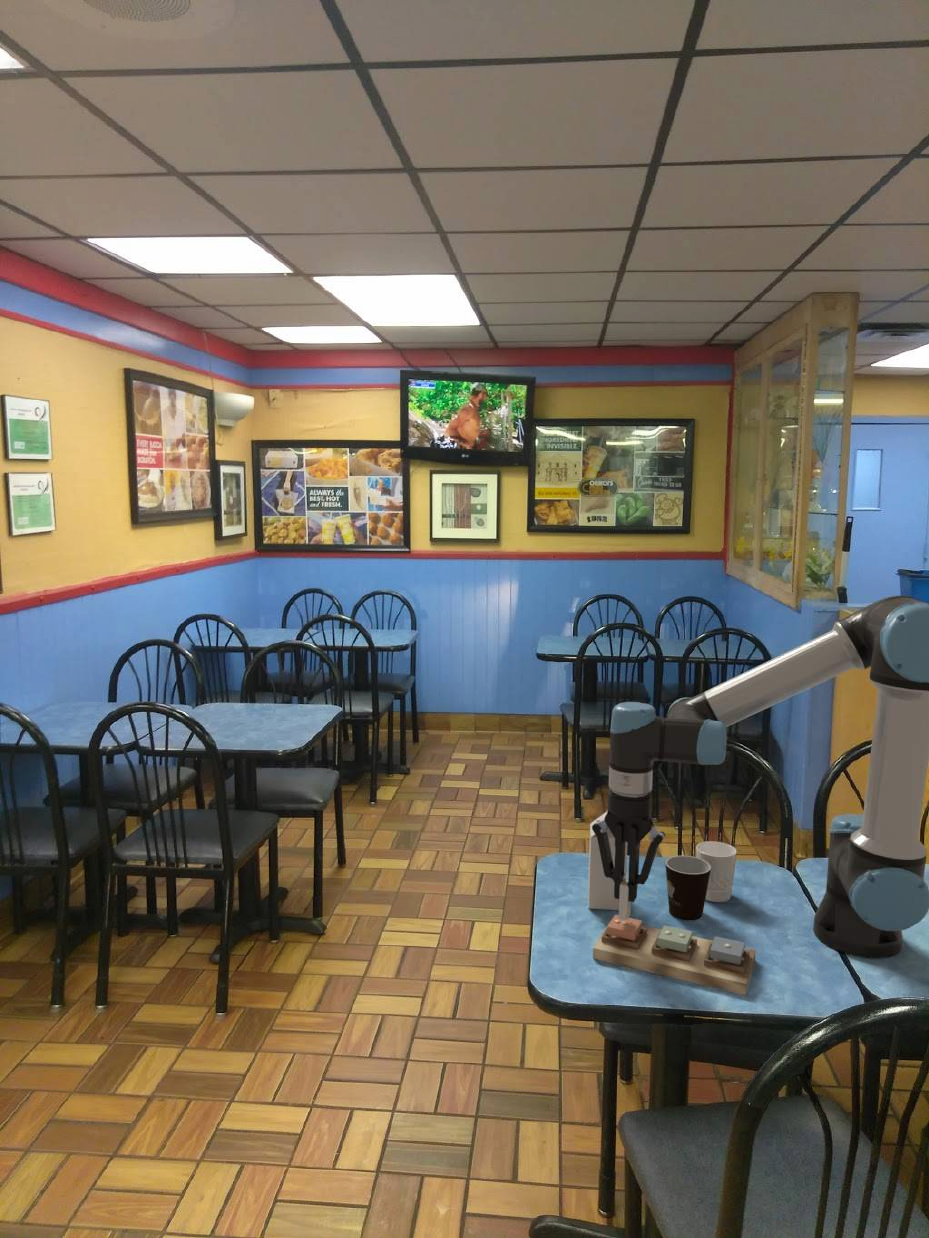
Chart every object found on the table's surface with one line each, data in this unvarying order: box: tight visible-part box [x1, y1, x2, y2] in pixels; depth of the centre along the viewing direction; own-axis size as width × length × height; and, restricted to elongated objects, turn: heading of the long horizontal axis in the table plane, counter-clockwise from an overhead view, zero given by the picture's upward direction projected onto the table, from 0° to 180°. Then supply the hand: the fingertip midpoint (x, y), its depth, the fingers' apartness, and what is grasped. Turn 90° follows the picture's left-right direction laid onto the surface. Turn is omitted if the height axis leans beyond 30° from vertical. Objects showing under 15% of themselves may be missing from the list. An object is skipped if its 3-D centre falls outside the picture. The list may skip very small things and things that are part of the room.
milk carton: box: [587, 810, 629, 911], centre depth 176 cm, size 7×7×19 cm
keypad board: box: [592, 918, 757, 996], centre depth 155 cm, size 26×12×3 cm, turn 65°
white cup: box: [695, 840, 738, 903], centre depth 180 cm, size 8×8×10 cm
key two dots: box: [657, 925, 693, 952], centre depth 155 cm, size 5×5×2 cm
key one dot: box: [710, 936, 746, 965], centre depth 151 cm, size 5×5×2 cm
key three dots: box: [607, 914, 643, 941], centre depth 159 cm, size 5×5×2 cm
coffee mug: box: [664, 855, 711, 922], centre depth 174 cm, size 12×9×10 cm
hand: (624, 916), depth 158 cm, fingers closed
